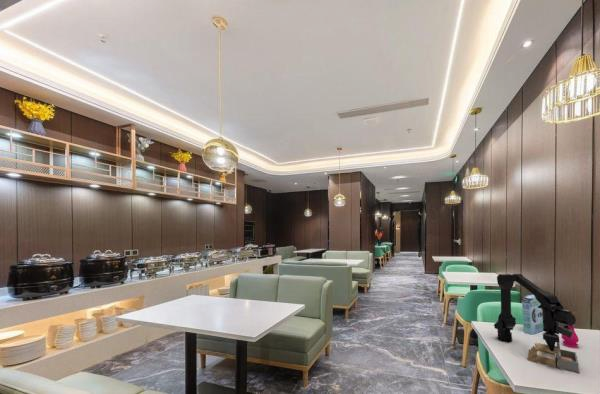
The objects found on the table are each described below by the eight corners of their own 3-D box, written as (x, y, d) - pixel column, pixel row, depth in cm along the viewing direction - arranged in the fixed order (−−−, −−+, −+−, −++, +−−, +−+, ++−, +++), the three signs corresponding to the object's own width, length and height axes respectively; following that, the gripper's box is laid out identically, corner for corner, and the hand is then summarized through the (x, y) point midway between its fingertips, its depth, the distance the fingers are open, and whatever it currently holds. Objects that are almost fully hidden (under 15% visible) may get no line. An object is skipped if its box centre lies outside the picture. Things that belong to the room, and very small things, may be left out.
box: (557, 367, 140) (556, 358, 141) (556, 356, 152) (555, 348, 152) (579, 373, 135) (578, 363, 136) (576, 361, 147) (575, 352, 147)
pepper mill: (582, 349, 161) (579, 312, 163) (567, 348, 162) (564, 311, 164) (573, 343, 168) (570, 308, 170) (559, 342, 169) (556, 308, 171)
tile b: (572, 361, 143) (572, 364, 143) (571, 358, 146) (572, 361, 146) (561, 359, 146) (561, 361, 146) (561, 356, 149) (561, 358, 149)
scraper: (535, 353, 147) (534, 344, 148) (535, 345, 156) (534, 337, 157) (561, 358, 141) (559, 349, 141) (560, 349, 150) (559, 341, 150)
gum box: (538, 327, 194) (536, 293, 196) (547, 330, 190) (545, 294, 192) (523, 332, 186) (520, 296, 188) (532, 335, 181) (529, 298, 183)
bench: (527, 360, 148) (527, 352, 149) (528, 351, 159) (528, 343, 159) (556, 367, 141) (555, 358, 141) (555, 357, 152) (554, 349, 152)
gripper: (572, 327, 137) (575, 361, 135) (569, 317, 151) (572, 348, 149) (541, 322, 144) (544, 354, 142) (542, 313, 158) (544, 342, 157)
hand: (552, 350), depth 147 cm, fingers closed on scraper, 2 cm apart
